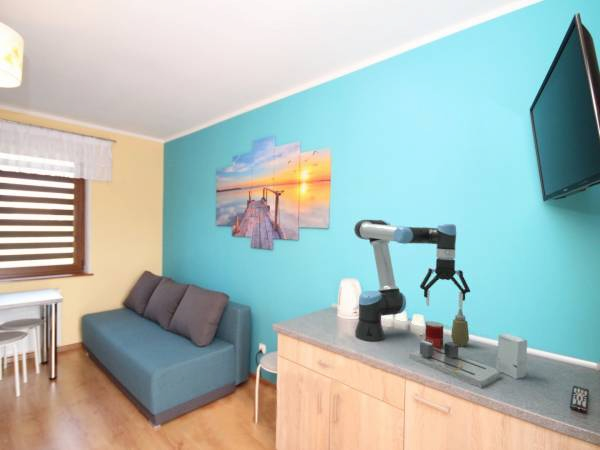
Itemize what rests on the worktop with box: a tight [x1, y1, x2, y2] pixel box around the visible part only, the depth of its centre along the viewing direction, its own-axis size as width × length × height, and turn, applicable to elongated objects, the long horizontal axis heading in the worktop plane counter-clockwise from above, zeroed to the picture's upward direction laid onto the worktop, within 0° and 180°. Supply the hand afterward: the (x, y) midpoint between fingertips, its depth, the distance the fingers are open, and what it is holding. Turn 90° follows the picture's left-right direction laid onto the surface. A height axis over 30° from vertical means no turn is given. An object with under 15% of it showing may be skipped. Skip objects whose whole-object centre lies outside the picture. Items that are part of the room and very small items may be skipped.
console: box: [409, 341, 502, 389], centre depth 128 cm, size 30×16×8 cm, turn 35°
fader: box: [419, 340, 434, 357], centre depth 132 cm, size 4×4×5 cm
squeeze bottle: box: [450, 307, 470, 347], centre depth 154 cm, size 8×8×18 cm
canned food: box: [425, 320, 444, 349], centre depth 151 cm, size 8×8×11 cm
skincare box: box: [495, 333, 528, 380], centre depth 123 cm, size 8×6×15 cm
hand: (443, 306), depth 135 cm, fingers open, 13 cm apart
